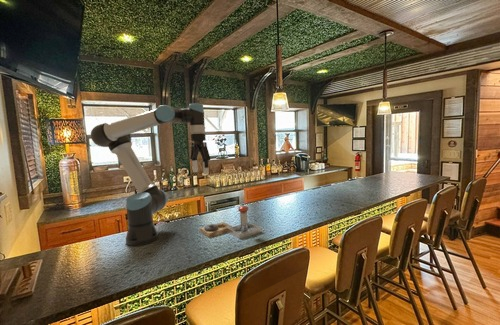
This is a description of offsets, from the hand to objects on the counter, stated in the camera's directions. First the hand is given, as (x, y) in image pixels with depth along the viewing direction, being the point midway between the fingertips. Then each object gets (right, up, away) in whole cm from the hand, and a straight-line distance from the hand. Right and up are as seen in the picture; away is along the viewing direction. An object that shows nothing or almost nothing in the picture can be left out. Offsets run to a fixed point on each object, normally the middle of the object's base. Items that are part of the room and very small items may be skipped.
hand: (200, 173), depth 135 cm
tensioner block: (+9, -32, -2) cm, 33 cm away
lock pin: (+24, -31, -6) cm, 39 cm away
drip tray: (+24, -31, -6) cm, 40 cm away
